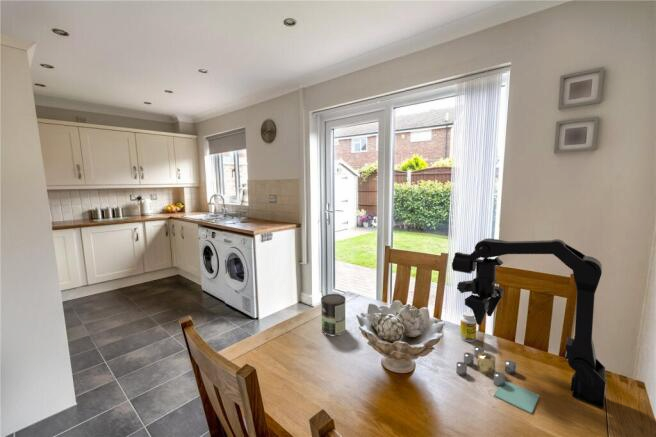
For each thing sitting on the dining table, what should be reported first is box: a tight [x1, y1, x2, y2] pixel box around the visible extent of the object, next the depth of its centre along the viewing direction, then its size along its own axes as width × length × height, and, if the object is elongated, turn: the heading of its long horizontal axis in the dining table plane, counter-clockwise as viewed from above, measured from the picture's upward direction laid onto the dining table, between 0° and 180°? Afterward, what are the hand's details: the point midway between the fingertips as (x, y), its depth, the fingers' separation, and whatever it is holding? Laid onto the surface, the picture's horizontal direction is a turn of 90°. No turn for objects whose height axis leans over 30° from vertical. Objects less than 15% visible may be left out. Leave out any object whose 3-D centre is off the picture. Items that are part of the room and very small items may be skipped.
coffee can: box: [320, 293, 346, 336], centre depth 120 cm, size 10×10×14 cm
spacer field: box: [455, 345, 517, 388], centre depth 92 cm, size 14×16×3 cm
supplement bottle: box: [459, 311, 477, 343], centre depth 111 cm, size 6×6×10 cm
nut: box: [477, 351, 497, 377], centre depth 92 cm, size 5×5×5 cm
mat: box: [493, 380, 541, 415], centre depth 81 cm, size 9×9×1 cm
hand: (484, 320), depth 98 cm, fingers open, 9 cm apart
